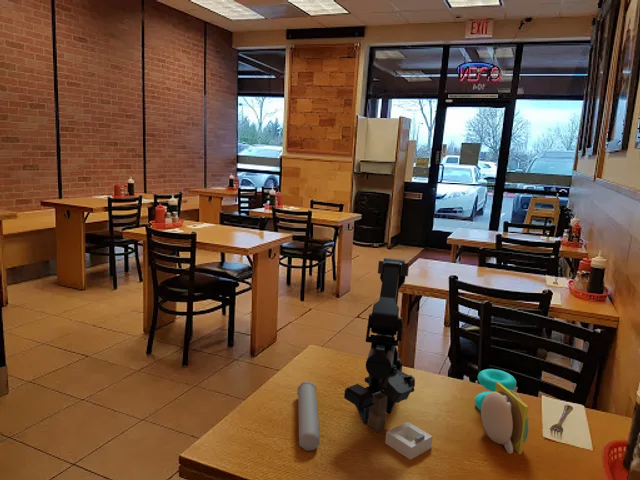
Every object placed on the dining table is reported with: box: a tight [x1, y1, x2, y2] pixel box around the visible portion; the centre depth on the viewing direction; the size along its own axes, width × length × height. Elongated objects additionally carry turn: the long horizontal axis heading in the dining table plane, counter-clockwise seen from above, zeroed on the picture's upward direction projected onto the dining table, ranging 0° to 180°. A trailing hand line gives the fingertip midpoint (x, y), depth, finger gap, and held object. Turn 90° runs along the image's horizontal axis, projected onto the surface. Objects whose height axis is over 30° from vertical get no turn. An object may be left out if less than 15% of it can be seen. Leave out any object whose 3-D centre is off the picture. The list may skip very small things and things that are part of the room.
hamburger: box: [480, 382, 530, 455], centre depth 116 cm, size 12×8×12 cm
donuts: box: [474, 368, 517, 411], centre depth 131 cm, size 10×10×10 cm
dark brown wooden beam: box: [367, 392, 387, 434], centre depth 118 cm, size 3×3×9 cm
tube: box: [296, 381, 321, 452], centre depth 120 cm, size 5×5×25 cm
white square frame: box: [385, 421, 433, 461], centre depth 112 cm, size 8×8×4 cm
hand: (376, 419), depth 119 cm, fingers open, 8 cm apart
